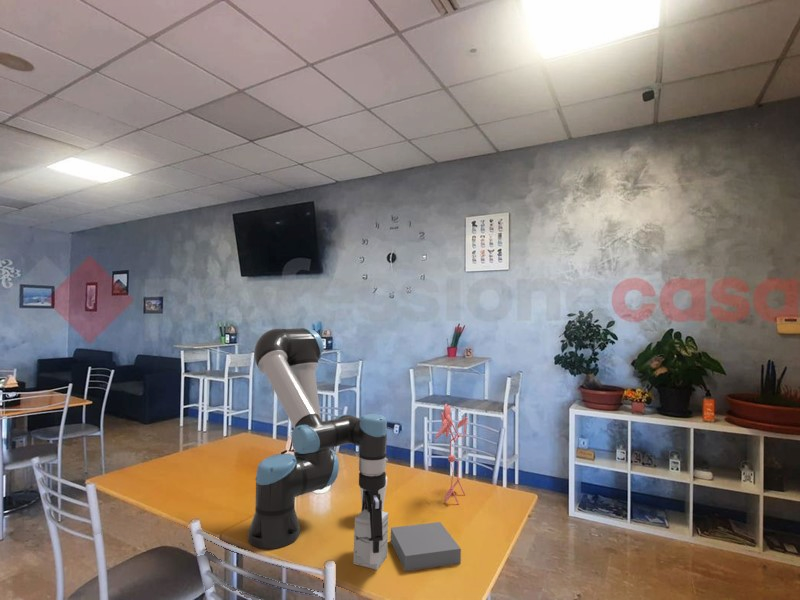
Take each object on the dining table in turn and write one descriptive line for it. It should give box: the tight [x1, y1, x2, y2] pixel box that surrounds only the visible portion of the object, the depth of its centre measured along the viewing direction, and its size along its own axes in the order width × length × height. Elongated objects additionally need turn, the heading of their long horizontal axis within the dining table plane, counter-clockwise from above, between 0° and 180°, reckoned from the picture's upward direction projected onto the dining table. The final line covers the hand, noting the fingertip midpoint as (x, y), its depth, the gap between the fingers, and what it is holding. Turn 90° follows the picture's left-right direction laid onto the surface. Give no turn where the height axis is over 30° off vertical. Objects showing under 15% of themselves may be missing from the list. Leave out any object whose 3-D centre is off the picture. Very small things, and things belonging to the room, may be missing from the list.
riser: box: [390, 521, 462, 572], centre depth 125 cm, size 16×16×4 cm
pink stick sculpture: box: [424, 403, 471, 506], centre depth 165 cm, size 15×26×35 cm, turn 157°
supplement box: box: [353, 509, 389, 571], centre depth 120 cm, size 7×7×13 cm
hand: (370, 552), depth 120 cm, fingers closed on supplement box, 10 cm apart
